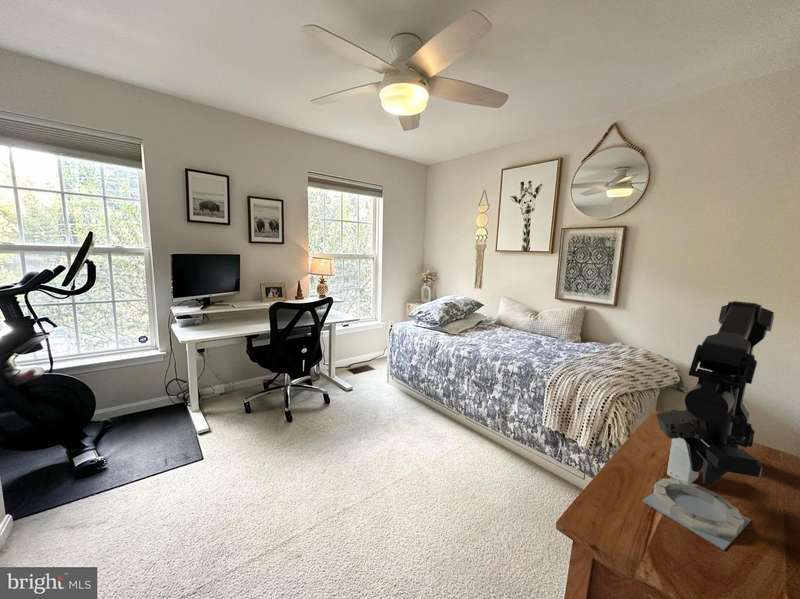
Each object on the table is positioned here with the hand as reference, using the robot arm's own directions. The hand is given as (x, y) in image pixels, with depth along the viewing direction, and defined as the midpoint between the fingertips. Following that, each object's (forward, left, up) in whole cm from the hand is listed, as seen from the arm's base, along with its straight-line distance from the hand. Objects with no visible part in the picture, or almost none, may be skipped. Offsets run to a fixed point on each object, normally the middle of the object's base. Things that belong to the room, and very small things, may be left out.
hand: (700, 477), depth 66 cm
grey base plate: (0, 0, -8) cm, 8 cm away
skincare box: (-11, -6, -8) cm, 15 cm away
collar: (0, 0, -8) cm, 8 cm away
